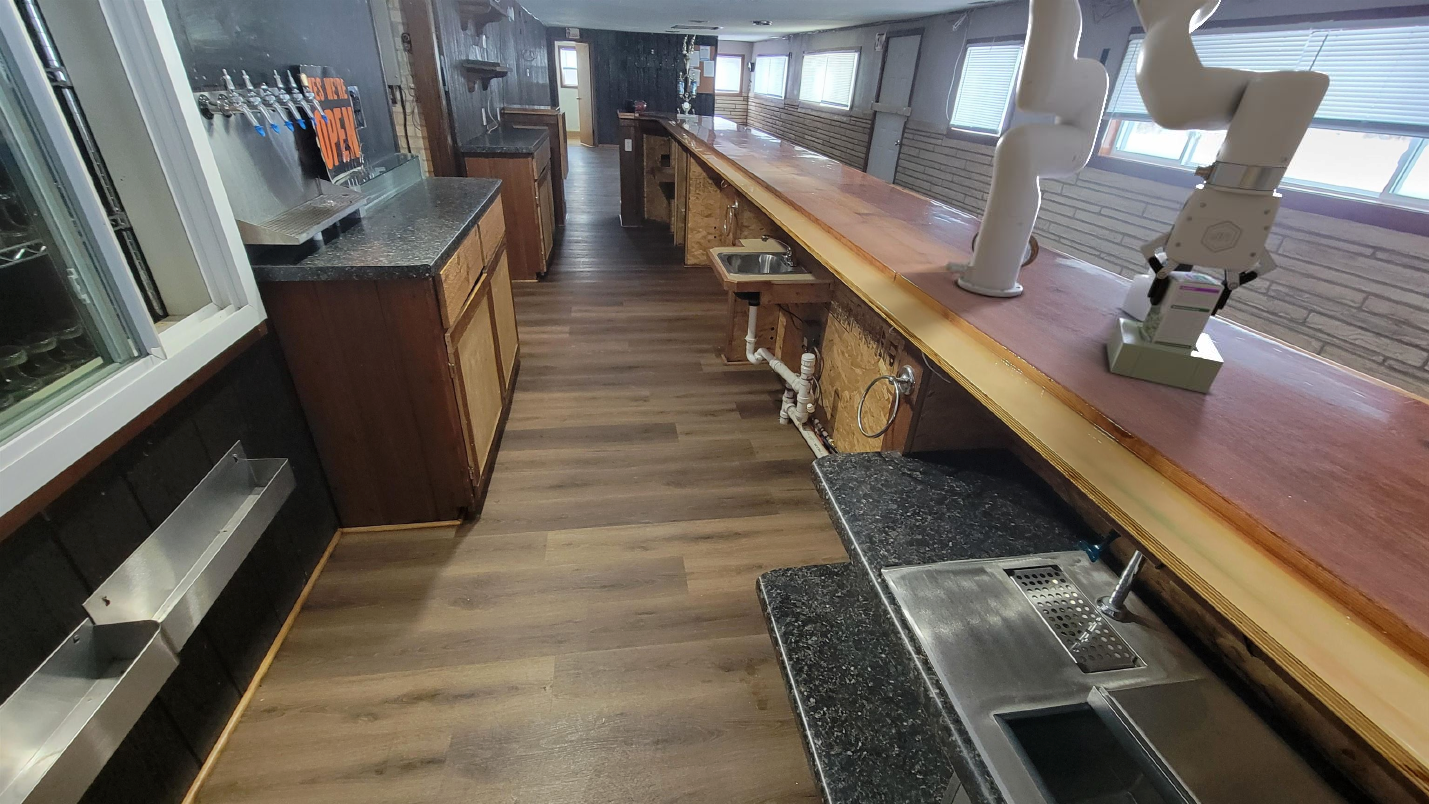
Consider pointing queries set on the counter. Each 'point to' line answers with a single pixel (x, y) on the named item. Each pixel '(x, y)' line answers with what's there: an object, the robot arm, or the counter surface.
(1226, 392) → the counter surface
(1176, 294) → the syrup box
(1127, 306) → the medicine bottle
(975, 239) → the tin
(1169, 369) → the socket block
